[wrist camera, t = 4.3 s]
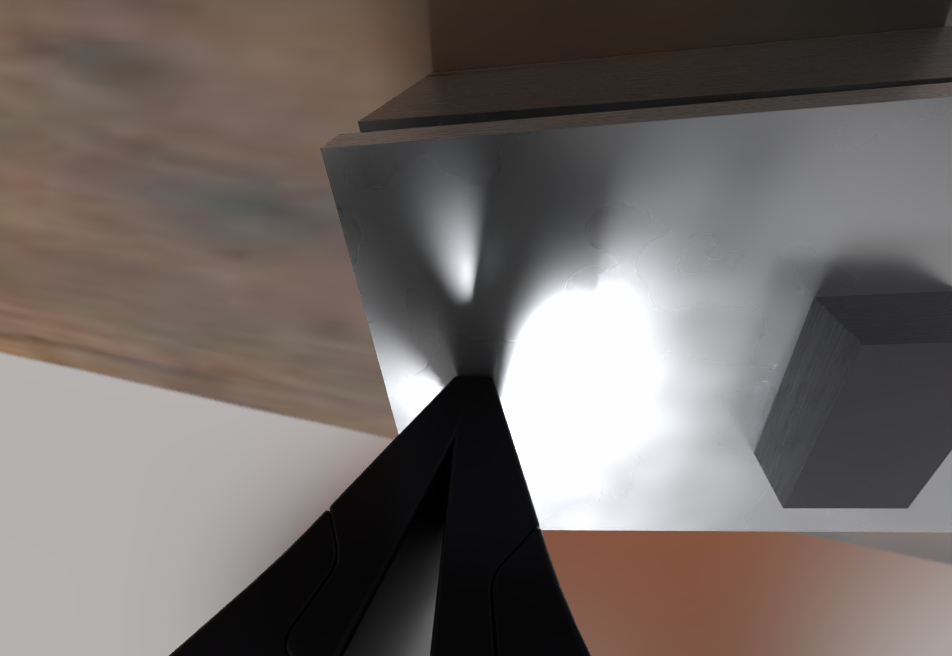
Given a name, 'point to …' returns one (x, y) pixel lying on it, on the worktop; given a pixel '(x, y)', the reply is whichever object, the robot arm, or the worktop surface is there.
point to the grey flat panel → (680, 303)
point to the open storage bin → (671, 79)
